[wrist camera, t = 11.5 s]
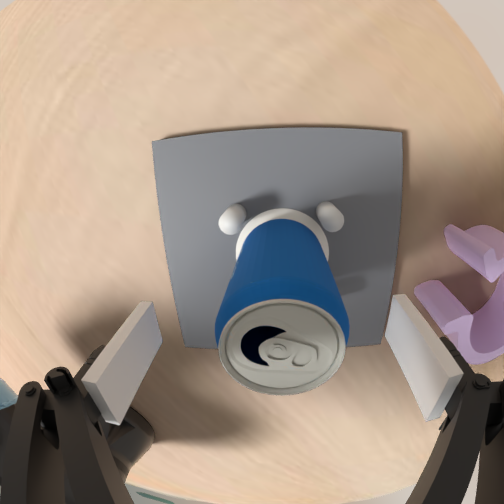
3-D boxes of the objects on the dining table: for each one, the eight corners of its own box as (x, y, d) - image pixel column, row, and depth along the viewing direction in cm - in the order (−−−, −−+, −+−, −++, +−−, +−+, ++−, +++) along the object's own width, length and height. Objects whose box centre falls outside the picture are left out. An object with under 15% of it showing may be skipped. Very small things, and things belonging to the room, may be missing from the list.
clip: (537, 264, 22) (568, 287, 15) (495, 342, 26) (518, 372, 20) (454, 200, 21) (499, 219, 14) (400, 311, 25) (425, 354, 19)
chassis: (188, 340, 29) (176, 366, 25) (157, 141, 22) (134, 141, 18) (377, 337, 26) (388, 363, 23) (396, 133, 19) (418, 131, 16)
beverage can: (255, 204, 22) (230, 269, 10) (333, 232, 22) (381, 316, 11) (232, 276, 24) (196, 380, 13) (303, 299, 24) (316, 410, 13)
